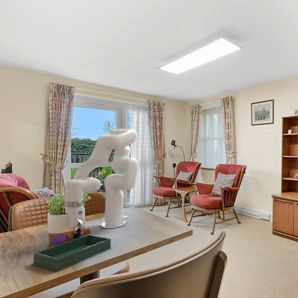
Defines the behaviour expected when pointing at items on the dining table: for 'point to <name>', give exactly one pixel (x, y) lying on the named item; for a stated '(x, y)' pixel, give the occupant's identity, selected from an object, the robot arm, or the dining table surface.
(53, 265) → the tray
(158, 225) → the dining table surface
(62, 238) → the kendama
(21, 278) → the dining table surface
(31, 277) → the dining table surface
